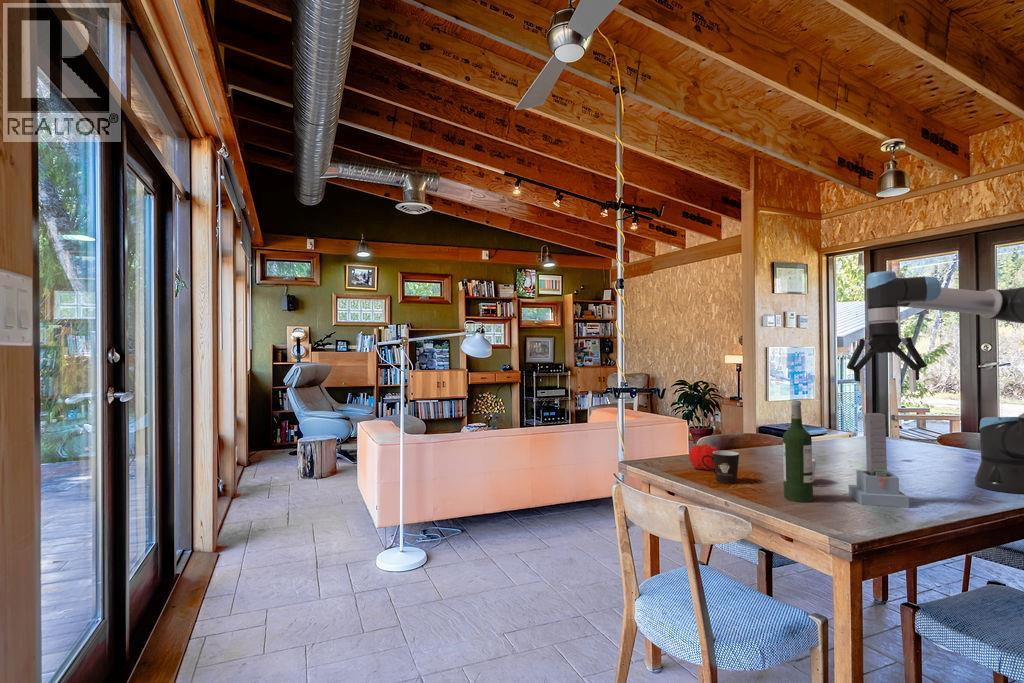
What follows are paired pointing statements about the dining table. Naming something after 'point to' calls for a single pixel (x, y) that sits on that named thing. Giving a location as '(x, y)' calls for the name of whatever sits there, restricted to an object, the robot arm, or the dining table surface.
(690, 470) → the dining table surface
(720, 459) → the coffee mug
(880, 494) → the stand base
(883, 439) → the column
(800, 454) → the wine bottle
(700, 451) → the red rounded lump
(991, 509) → the dining table surface
